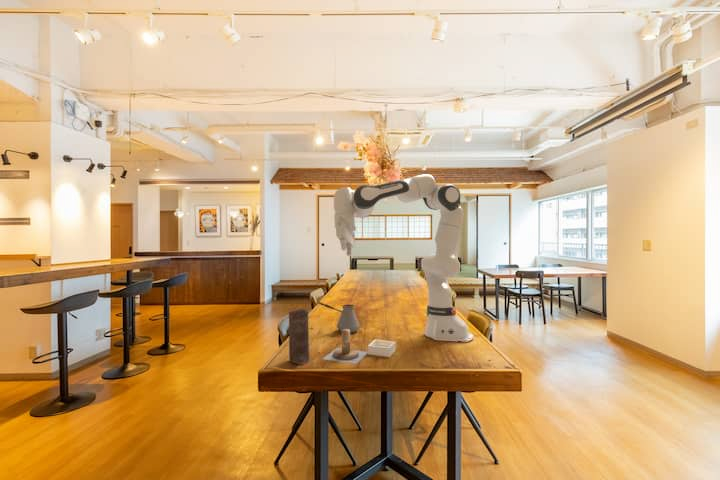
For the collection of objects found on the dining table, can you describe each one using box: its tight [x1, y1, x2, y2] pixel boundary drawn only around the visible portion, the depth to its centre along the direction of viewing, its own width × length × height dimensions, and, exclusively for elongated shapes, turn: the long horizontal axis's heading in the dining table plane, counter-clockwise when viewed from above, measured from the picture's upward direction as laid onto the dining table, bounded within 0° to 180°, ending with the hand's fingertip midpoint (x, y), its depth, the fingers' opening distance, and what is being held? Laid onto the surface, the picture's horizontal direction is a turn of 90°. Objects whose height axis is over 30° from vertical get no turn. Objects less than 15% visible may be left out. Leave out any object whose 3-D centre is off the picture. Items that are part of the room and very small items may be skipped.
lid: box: [333, 329, 359, 360], centre depth 135 cm, size 10×10×10 cm
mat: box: [322, 347, 368, 365], centre depth 135 cm, size 14×14×1 cm
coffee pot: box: [316, 301, 360, 334], centre depth 171 cm, size 21×12×15 cm, turn 97°
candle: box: [288, 308, 310, 365], centre depth 129 cm, size 8×7×20 cm
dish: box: [367, 338, 397, 358], centre depth 139 cm, size 9×9×4 cm
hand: (346, 253), depth 147 cm, fingers open, 8 cm apart
